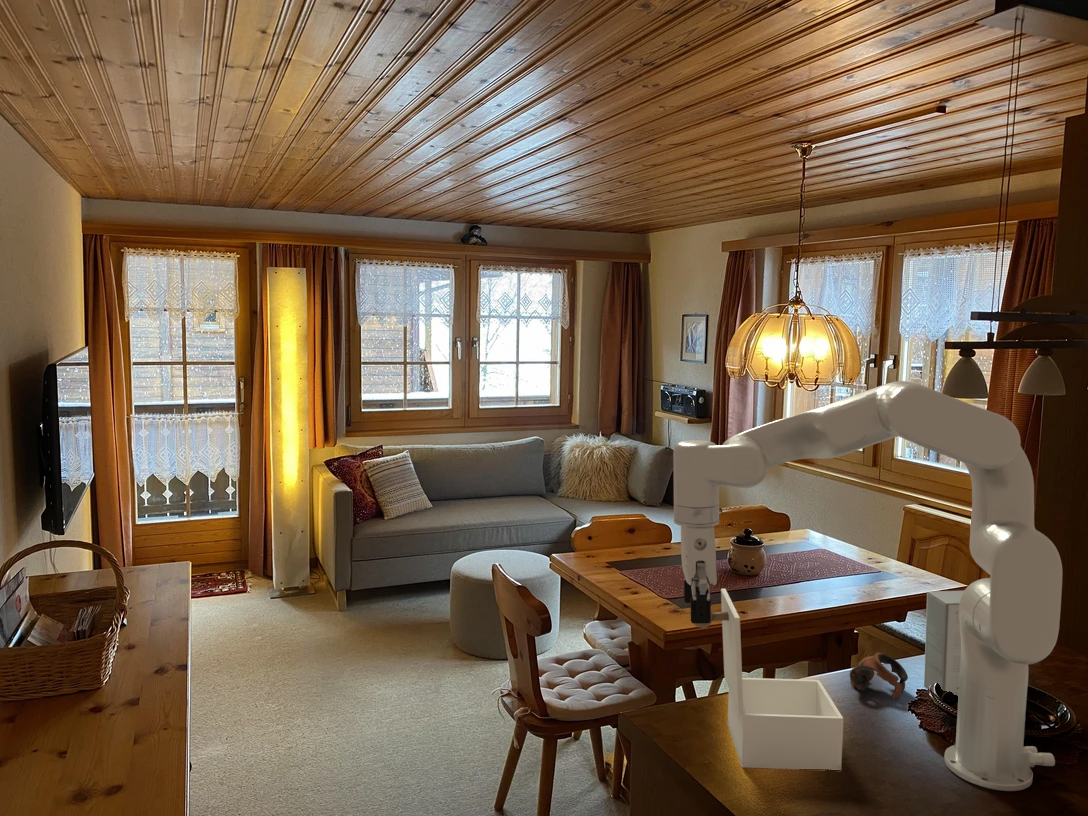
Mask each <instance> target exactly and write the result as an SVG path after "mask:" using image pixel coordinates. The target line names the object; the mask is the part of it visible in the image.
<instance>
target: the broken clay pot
mask: <svg viewBox="0 0 1088 816" xmlns="http://www.w3.org/2000/svg"><path fill="white" fill-rule="evenodd" d="M884 664H885V665H890V667H891V671H890V670H888V669H887V668H886V667H885V666H884ZM875 672H876V674H875ZM894 673H895V674H894ZM875 675H876V676H877V677H880V678H881V679H882V680H883V681H886V682H887V683H888V684H890V685H891V686H893V687H894V690H893V692H892V694H891V697H892V699H894V700H897V699H899V697H900V696H901V694H903V693H904V692H905V689H906V681H907V680H908V679H909V675H908V674H907V672H906V670H905V669H904V667H903V666H902V664H900V663H899V662H898V661H897V660H896V659H894V657H892V656H890V655H888V654H886V653H883V652H876V653H874V655H870V656H866V657H864V658H862V659H861V660H860V661H859V662H858V664H857V666H855V667H853V668H852V669H851V670H850V671H849V679H850V686H851V687H852V689H853V688H855V689H857V690H859V691H862V692H864V691H866V687H867V686H868V684H869V683H870V682H871V681H872V680H873V678H874V676H875Z"/></svg>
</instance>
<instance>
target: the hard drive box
mask: <svg viewBox="0 0 1088 816" xmlns="http://www.w3.org/2000/svg"><path fill="white" fill-rule="evenodd" d="M964 591H965V589H964V590H940V591H939V590H936V591H933V590H931V591H926V610H925V611H926V615H925V616H926V618H925V641H924V642H925V646H924V647H925V649H924V650H925V651H924V674H923V675H924V677H923V687H925V688H926V689H927V688H929V686H930V685H932V684H933V683H938V684H939V685H940V687H941V689H942V690H943V691H947V692H949V691H950V692H952V693H953V694H954V695H957V696H959V678H960V665H961V634H960V622H959V604H960V599H961V596H962V594H963V592H964Z"/></svg>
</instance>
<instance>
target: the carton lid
mask: <svg viewBox="0 0 1088 816" xmlns="http://www.w3.org/2000/svg"><path fill="white" fill-rule="evenodd" d="M720 598H721V599H720V602H721V612H720V611H719V612H711V622H710V623H693V625H694V626H696V627H697V628H699V629H705V628H708V627H709V626H711V624H712V623H713V622H719V621H720V622H722V623H721V625H722V628H721V629H722V647H723V648H722V649H723V650H722V651H723V671H724V673H723V674H724V675H723V676H724V680H725V682H726V685H727V687H728V691H729V690H730V693H731V696H732V698H733V701H734V704H735V707H736V709H737V712H738V715H744V713H743V687H742V678H743V670H742V669H743V667H742V666H743V665H742V664H743V662H742V642H741V618H740V616H739V614H738V611H737V609H736V608H735V605H734V604H733V601H732V599H731V597H730V595H729V593H728V591H727V588H720Z"/></svg>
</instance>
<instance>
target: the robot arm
mask: <svg viewBox="0 0 1088 816" xmlns="http://www.w3.org/2000/svg"><path fill="white" fill-rule="evenodd" d="M897 437H898V438H901V439H904V440H906V441H908V442H910V443H913V444H914V445H917V446H920V447H923V448H925V449H927V450H930V451H933V452H934V453H937V454H940V455H943V456H945V457H946V458H947V457H948V458H951V459H954V460H956V461H958V462H961V463H963V464H964V465H965V467H966V468H967V470H968V473H969V477H970V480H971V481H970V482H971V500H972V501H971V516H970V519H971V520H970V533H969V552H970V555H971V557H972V559H973V560H974V562H975V563H976V564H977V565H978V567H980V568H981V569H982V570H983V571H985V573H987V574H988V575H990V576H989V577H985V578H980V579H977V580H975V581H973V582H971V583H970V584H969V585H967V587H966V588H965V589H964V590H965V591H964V592H963V594H962V596H961V599H960V604H959V622H960V634H961V665H960V678H959V696H958V702H957V714H956V715H957V718H956V729H955V730H956V733H955V735H956V736H955V744H953V745H951V746H949V747H947V748H946V749H945V752H944V756H943V757H944V762H945V765H946V766H947V768H948V769H949V770H950V771H951V772H952V773H954V774H955V775H956V776H958V777H959V778H961V779H963V780H965V781H966V782H968V783H972V784H974V785H976V786H979V787H983V788H985V789H990V790H995V791H1003V792H1004V791H1005V792H1017V791H1022V790H1025V789H1027V788H1029V787H1030V786H1031V785H1032V783H1033V778H1034V774H1033V771H1032V769H1031V768H1035V766H1041V767H1042V766H1043V767H1044V766H1045V767H1053V766H1055V765H1056V760H1055V756H1054V755H1053V754H1052V753H1051V752H1038V748H1037V747H1036V746H1033V745H1031V746H1030V745H1029V746H1028V745H1026V746H1024V740H1025V729H1026V728H1025V726H1026V725H1025V724H1026V723H1025V722H1026V713H1027V712H1026V711H1027V700H1028V699H1027V697H1028V686H1029V665H1033V664H1036V663H1039V662H1041V661H1043V660H1045V659H1046V658H1047V657H1048V656H1049V655H1050V654H1051V653H1052V651H1053V649H1054V647H1055V646H1056V644H1057V641H1058V636H1059V631H1060V621H1061V620H1060V619H1061V609H1062V608H1061V607H1062V593H1063V592H1062V589H1063V564H1062V559H1061V556H1060V552H1059V551H1058V549H1057V547H1056V545H1055V544H1054V543H1053V541H1051V539H1049V537H1048V536H1046V535H1045V534H1044V533H1042V532H1040V531H1039V530H1037V529H1036V527H1035V481H1034V475H1033V469H1032V465H1031V463H1030V461H1029V459H1028V456H1027V454H1026V453H1025V451H1024V449H1023V448H1022V446H1021V442H1022V441H1021V436H1020V432H1019V430H1018V428H1017V427H1016V425H1015V424H1014V423H1013V422H1012V421H1011V420H1009V418H1007V417H1006V416H1004V415H1001V414H999V413H996V412H994V411H990V410H987V409H985V408H982V407H980V406H976V405H974V404H971V403H968V402H967V401H966V402H965V401H963V400H960V399H958V398H955V397H952V396H950V395H947V394H944V393H942V392H940V391H938V390H935V389H933V388H930V387H928V386H925V385H923V384H920V383H919V384H918V383H915V382H910V381H906V380H905V381H904V380H895V381H892V382H889V383H885V384H882V385H878V386H876V387H873V388H871V389H868V390H865V391H862V392H858V393H857V394H854V395H852V396H848V397H846V398H843V399H841V400H838V401H834V402H831V403H829V404H826V405H824V406H821V407H817V408H813V409H810V410H807V411H803V412H800V413H798V414H795V415H792V416H789V417H785V418H781V419H777V420H774V421H772V422H771V421H770V422H767V423H765V424H762V425H760V426H756V427H754V428H751V429H748V430H745V431H743V432H740V433H737V434H735V435H732V436H731V437H729V438H728V439H726V440H725V441H724V442H723V443H722V445H720V444H718V445H717V444H716V443H715V442H713V441H710V440H703V439H702V440H701V439H699V440H697V439H691V440H683V441H682V440H681V441H680V442H677V443H676V444H675V445H674V448H673V457H672V458H673V523H674V524H676V525H678V526H680V552H681V553H680V555H681V568H682V572H683V576H684V581H683V600H684V603H685V604H690V622H691V623H692V624H694V623H710V622H711V613H712V611H711V610H712V608H711V607H712V606H711V604H712V602H711V594H710V585H712V586H715V585H717V583H718V582H717V580H718V579H717V577H718V576H717V552H716V538H715V537H716V535H715V528H714V527H715V526H717V525H718V526H719V524H720V486H724V487H730V488H736V489H749V488H754V487H757V486H758V485H760V484H761V483H762V482H763V481H764V480H765V478H766V477H767V475H768V473H769V472H768V471H769V468H770V469H771V468H772V467H773V468H774V467H776V466H778V465H782V464H785V463H789V462H793V461H796V460H805V459H817V460H818V459H819V460H820V459H821V460H822V459H823V460H826V459H827V460H828V459H834V458H838V457H842V456H845V455H848V454H851V453H853V452H857V451H859V450H862V449H864V448H867V447H870V446H874V445H876V444H879V443H883V442H886V441H888V440H891V439H894V438H897ZM709 584H710V585H709Z"/></svg>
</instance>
